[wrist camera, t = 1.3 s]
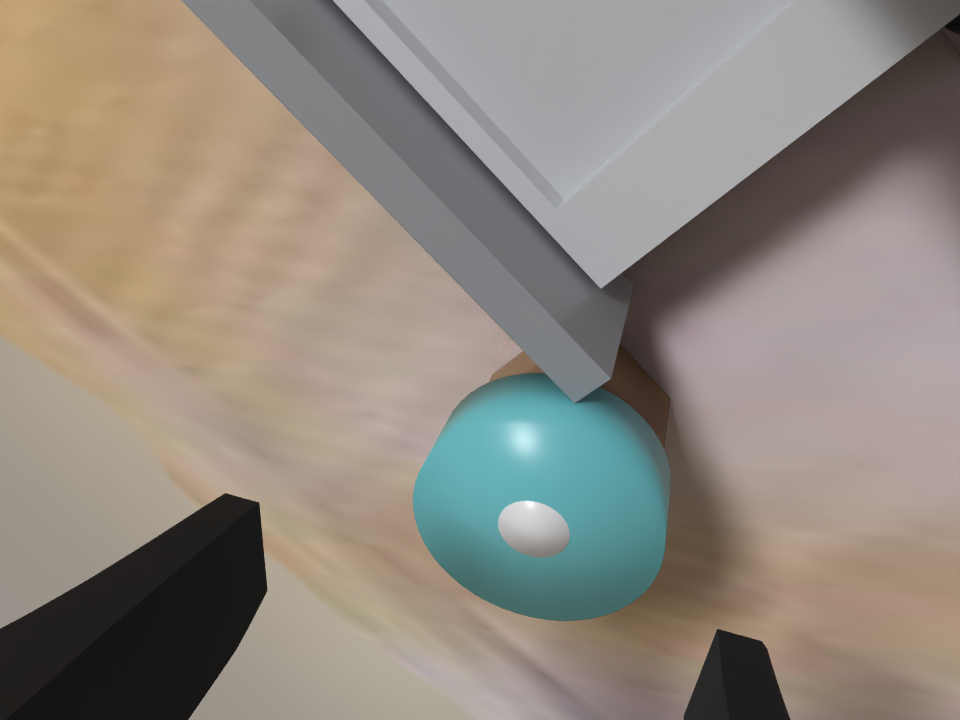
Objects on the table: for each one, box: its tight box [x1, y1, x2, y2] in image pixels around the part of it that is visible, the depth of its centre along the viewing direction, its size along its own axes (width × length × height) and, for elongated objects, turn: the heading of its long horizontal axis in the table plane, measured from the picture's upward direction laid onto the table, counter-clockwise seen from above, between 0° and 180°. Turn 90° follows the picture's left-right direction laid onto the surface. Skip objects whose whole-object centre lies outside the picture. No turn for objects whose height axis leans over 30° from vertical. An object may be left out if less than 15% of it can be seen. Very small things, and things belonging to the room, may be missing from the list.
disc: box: [413, 373, 671, 621], centre depth 17 cm, size 6×6×2 cm
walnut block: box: [489, 344, 670, 449], centre depth 20 cm, size 4×4×4 cm
